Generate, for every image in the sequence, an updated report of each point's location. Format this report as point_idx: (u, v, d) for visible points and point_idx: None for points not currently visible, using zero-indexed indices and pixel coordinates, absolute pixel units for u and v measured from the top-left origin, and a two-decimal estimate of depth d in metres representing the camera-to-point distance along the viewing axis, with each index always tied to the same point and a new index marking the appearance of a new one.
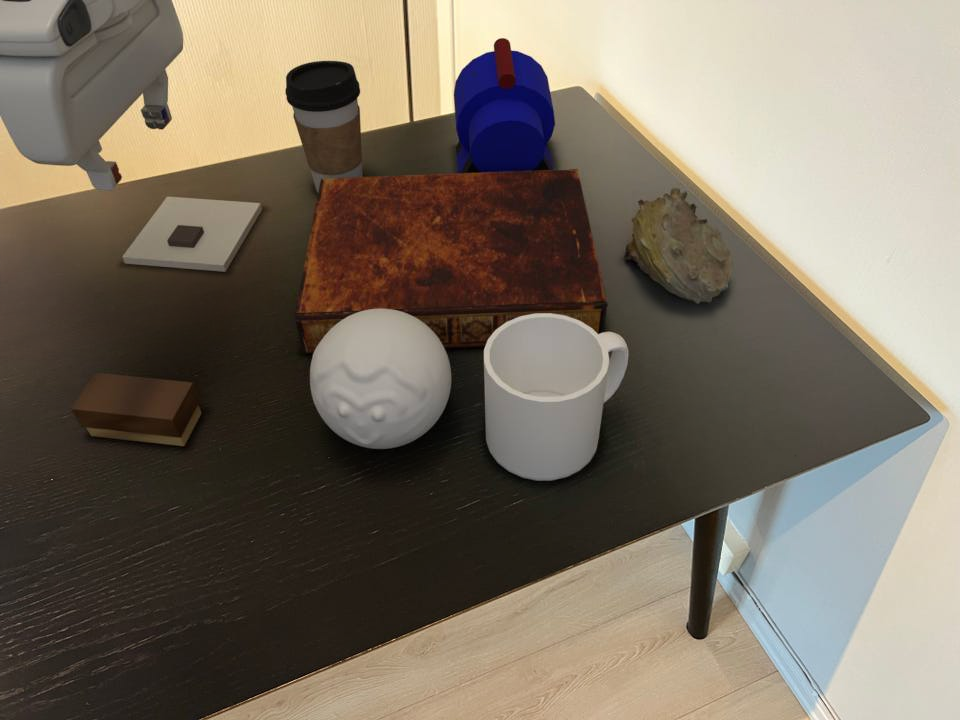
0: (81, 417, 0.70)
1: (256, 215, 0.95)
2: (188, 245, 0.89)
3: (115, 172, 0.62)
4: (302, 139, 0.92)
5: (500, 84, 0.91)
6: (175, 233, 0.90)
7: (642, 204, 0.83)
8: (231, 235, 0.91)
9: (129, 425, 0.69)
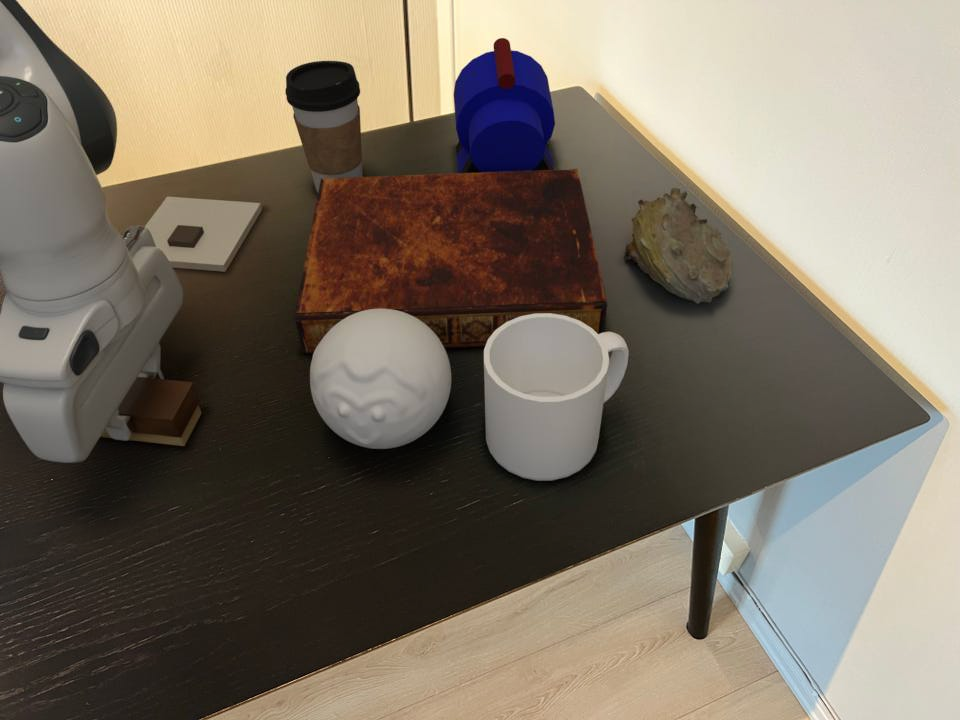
0: None
1: (256, 215, 0.95)
2: (188, 245, 0.89)
3: (130, 425, 0.68)
4: (302, 139, 0.92)
5: (500, 84, 0.91)
6: (175, 233, 0.90)
7: (642, 204, 0.83)
8: (231, 235, 0.91)
9: None
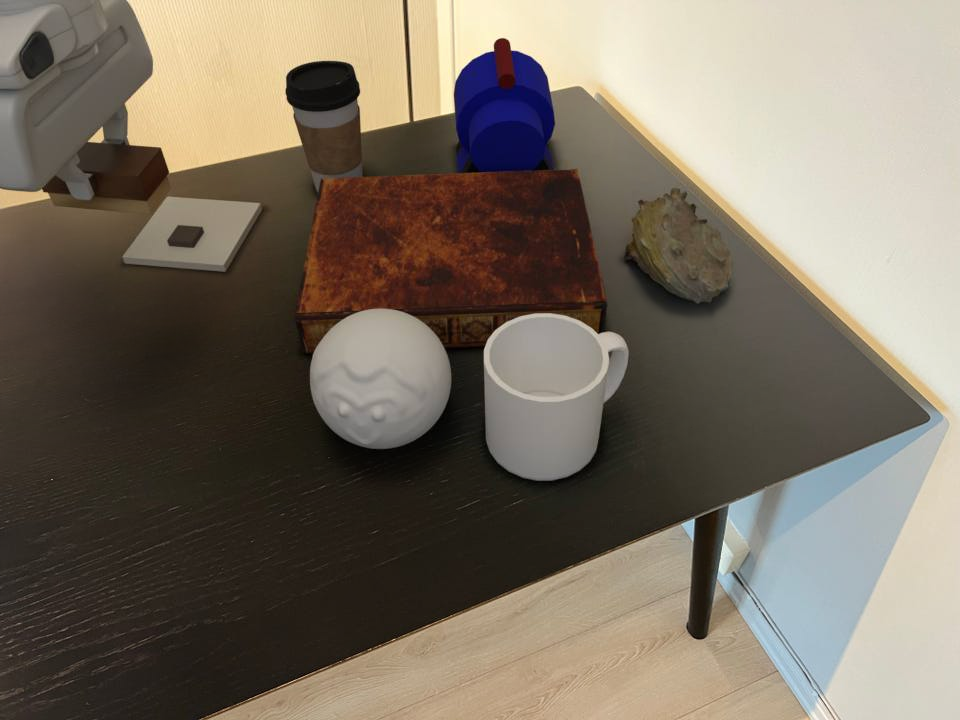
0: None
1: (256, 215, 0.95)
2: (188, 245, 0.89)
3: (93, 182, 0.65)
4: (302, 139, 0.92)
5: (500, 84, 0.91)
6: (175, 233, 0.90)
7: (642, 204, 0.83)
8: (231, 235, 0.91)
9: None
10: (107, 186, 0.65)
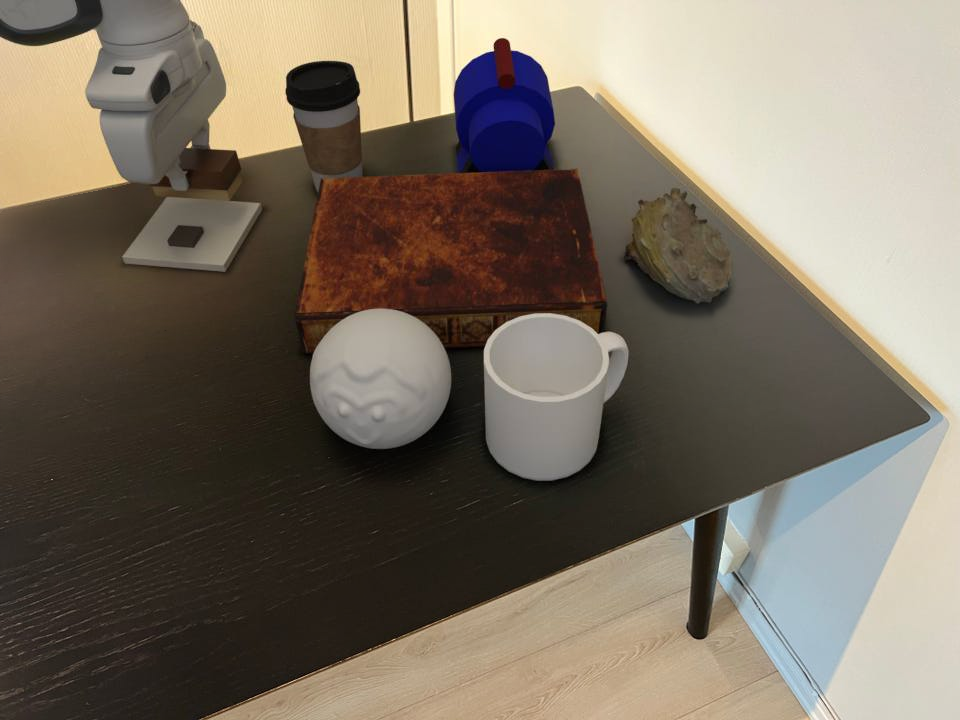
0: None
1: (256, 215, 0.95)
2: (188, 245, 0.89)
3: (188, 178, 0.87)
4: (302, 139, 0.92)
5: (500, 84, 0.91)
6: (175, 233, 0.90)
7: (642, 204, 0.83)
8: (231, 235, 0.91)
9: None
10: (198, 180, 0.88)
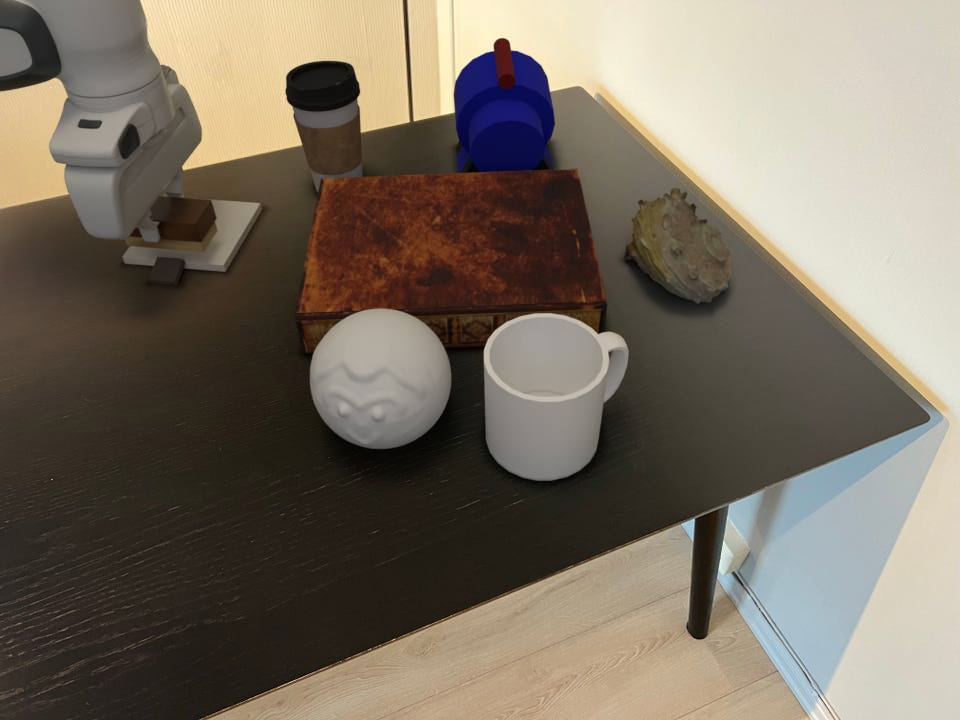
0: None
1: (256, 215, 0.95)
2: (171, 283, 0.86)
3: (160, 229, 0.84)
4: (302, 139, 0.92)
5: (500, 84, 0.91)
6: (156, 269, 0.87)
7: (642, 204, 0.83)
8: (231, 235, 0.91)
9: None
10: (170, 231, 0.84)
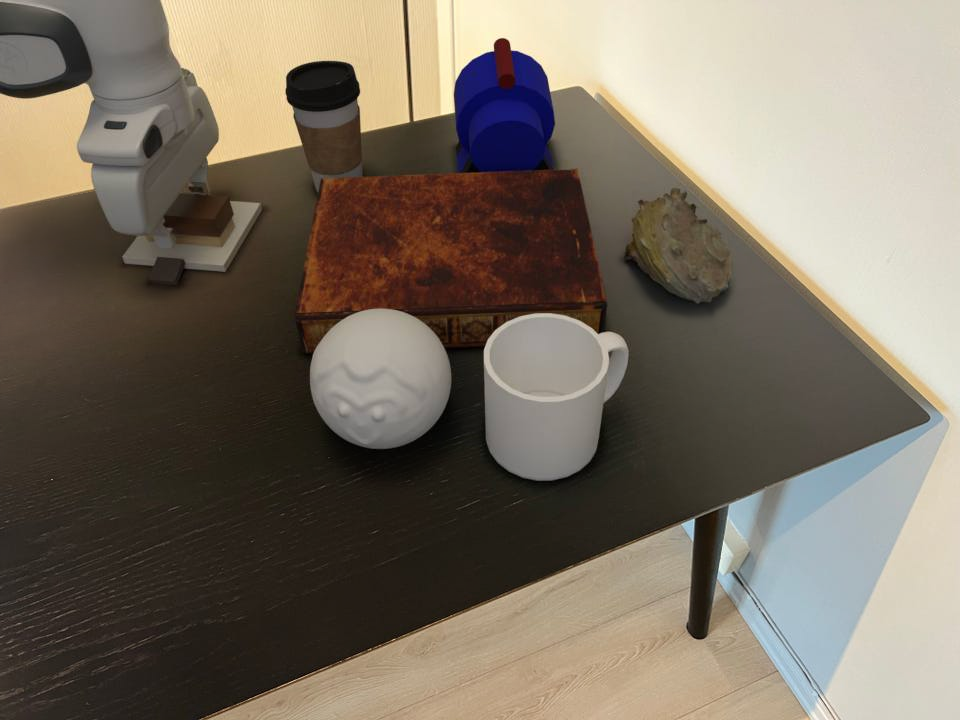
0: None
1: (256, 215, 0.95)
2: (171, 283, 0.86)
3: (172, 235, 0.86)
4: (302, 139, 0.92)
5: (500, 84, 0.91)
6: (156, 269, 0.87)
7: (642, 204, 0.83)
8: (231, 235, 0.91)
9: (179, 227, 0.88)
10: (190, 227, 0.88)
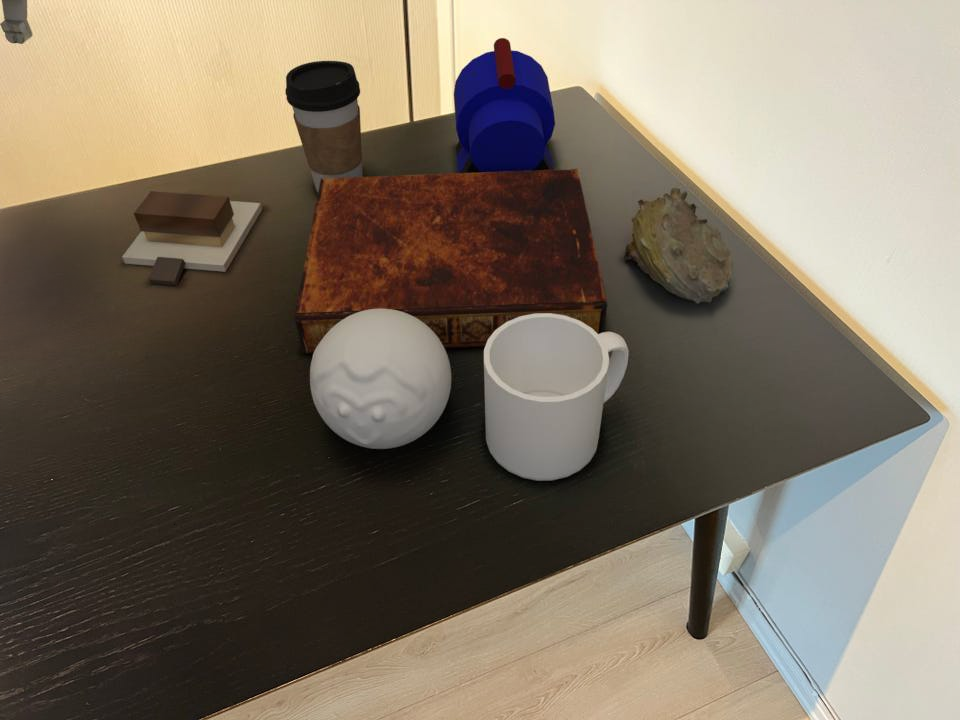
0: (141, 221, 0.88)
1: (256, 215, 0.95)
2: (171, 283, 0.86)
3: None
4: (302, 139, 0.92)
5: (500, 84, 0.91)
6: (156, 269, 0.87)
7: (642, 204, 0.83)
8: (231, 235, 0.91)
9: (179, 227, 0.88)
10: (190, 227, 0.88)
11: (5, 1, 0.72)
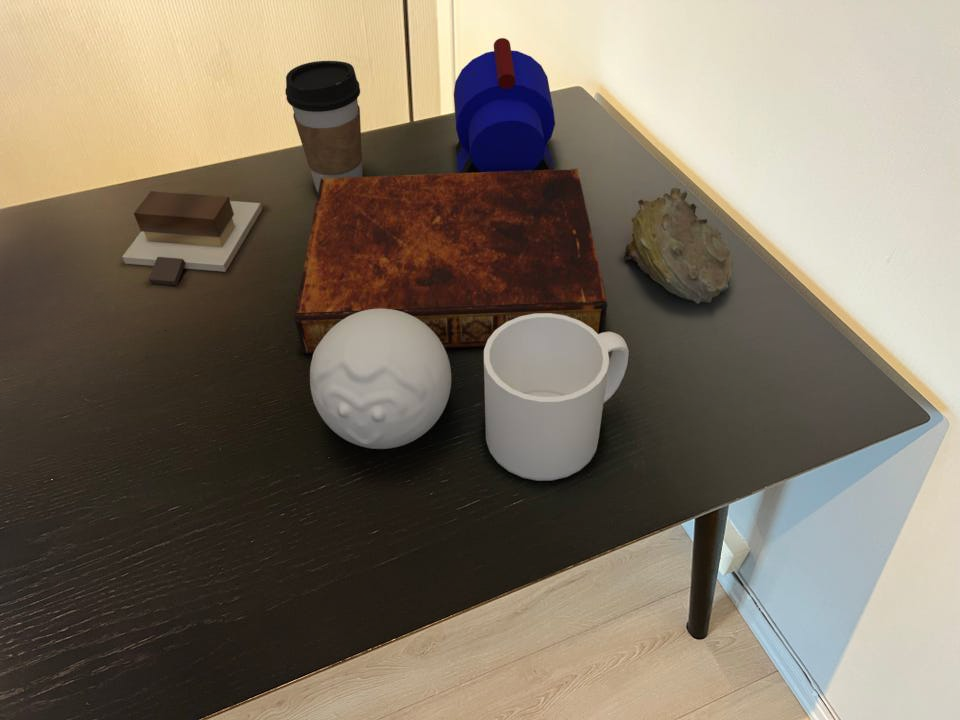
0: (141, 221, 0.88)
1: (256, 215, 0.95)
2: (171, 283, 0.86)
3: None
4: (302, 139, 0.92)
5: (500, 84, 0.91)
6: (156, 269, 0.87)
7: (642, 204, 0.83)
8: (231, 235, 0.91)
9: (179, 227, 0.88)
10: (190, 227, 0.88)
11: None
